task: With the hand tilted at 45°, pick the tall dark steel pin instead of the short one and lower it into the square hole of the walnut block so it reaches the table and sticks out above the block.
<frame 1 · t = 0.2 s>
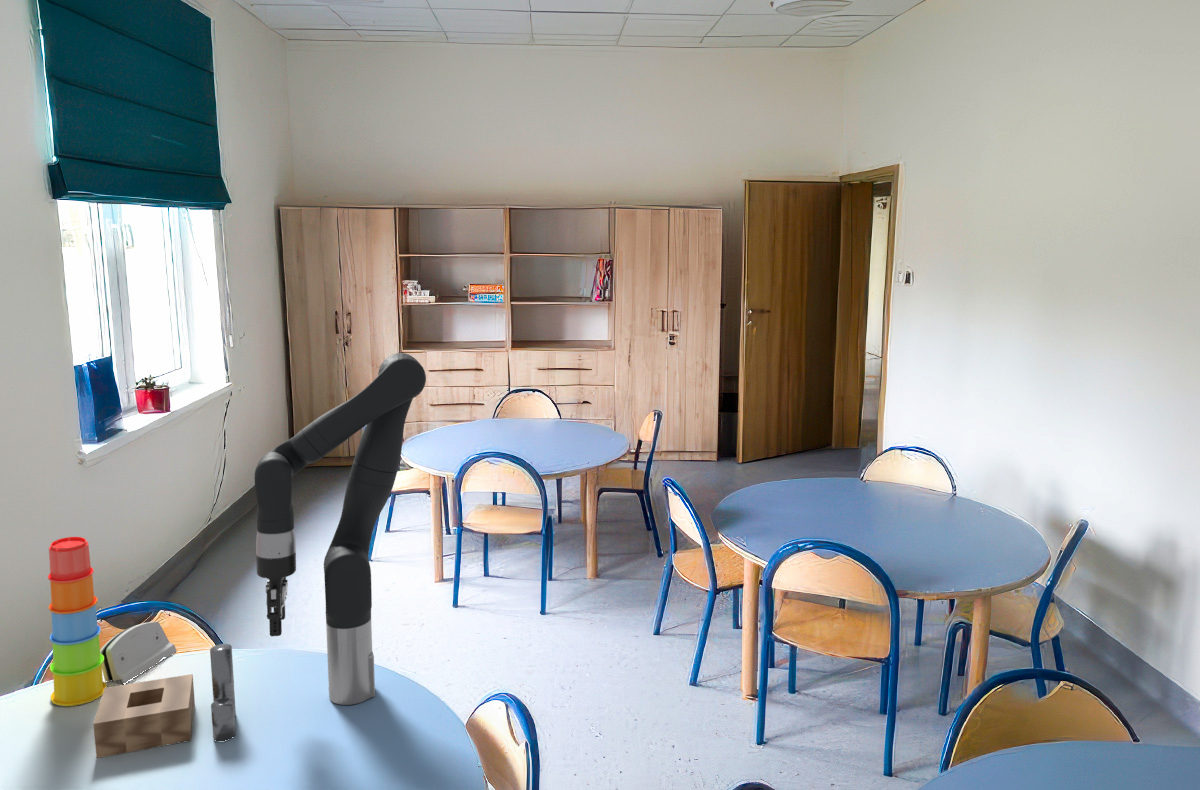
hand: (277, 627, 175), 18 cm above the table, tool pointing down, fingers open, 8 cm apart
bore block: (148, 730, 169), on the table
short pin: (224, 736, 167), on the table
grey curved housing: (137, 666, 194), on the table
stacking cups: (79, 695, 181), on the table
long pin: (225, 716, 174), on the table
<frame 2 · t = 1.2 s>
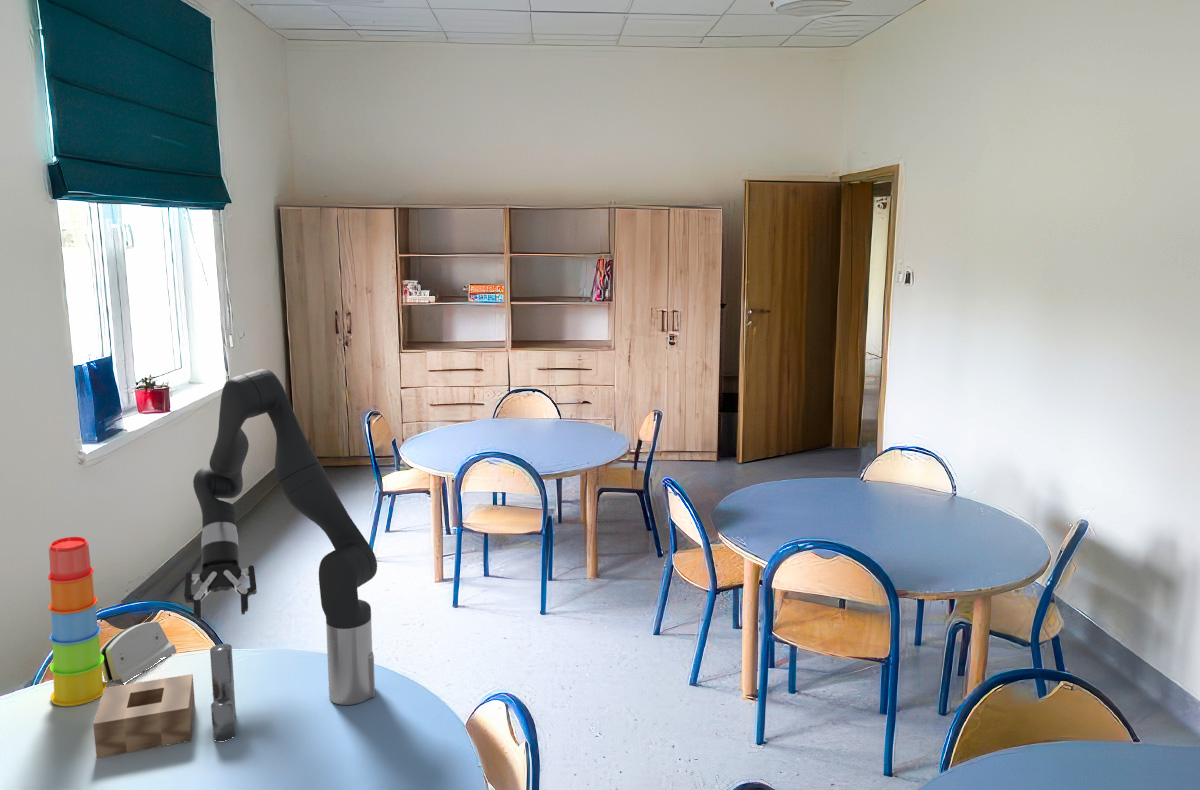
hand: (221, 616, 181), 17 cm above the table, tool tilted 45°, fingers open, 8 cm apart
nothing on the table moved.
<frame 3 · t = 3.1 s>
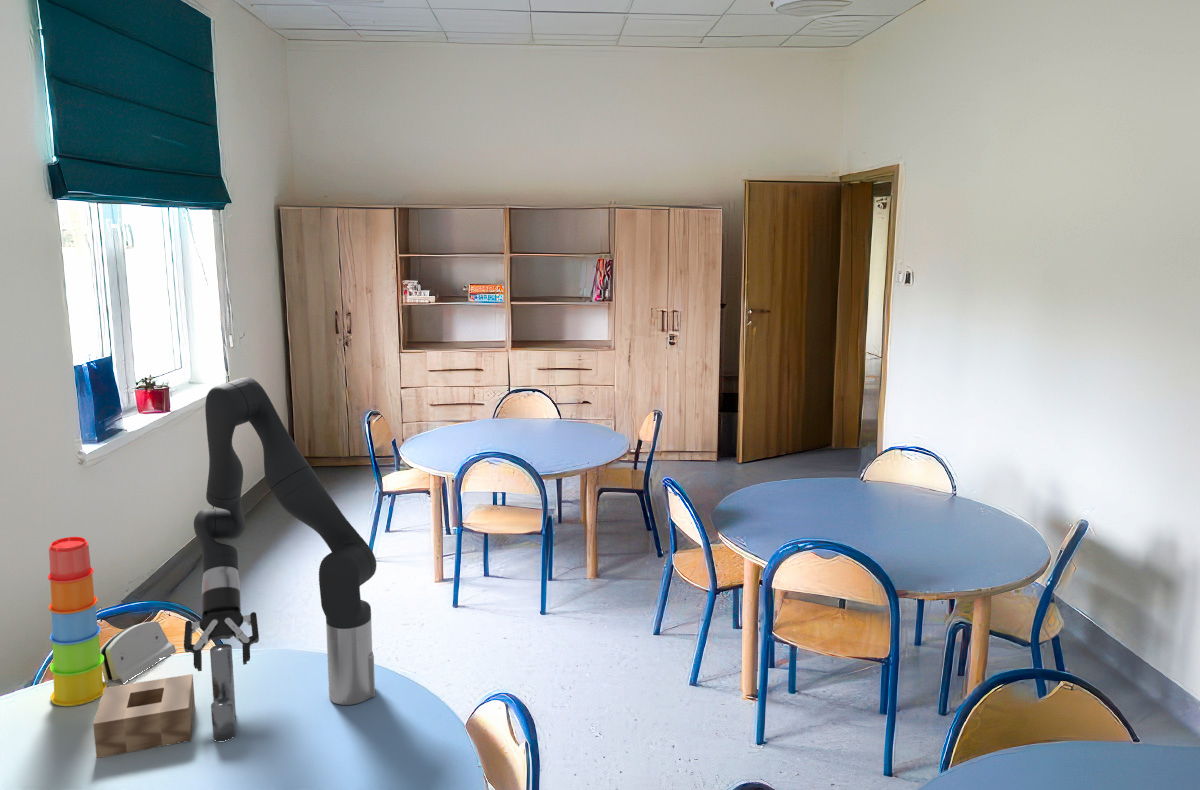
hand: (222, 666, 174), 10 cm above the table, tool tilted 45°, fingers open, 8 cm apart
nothing on the table moved.
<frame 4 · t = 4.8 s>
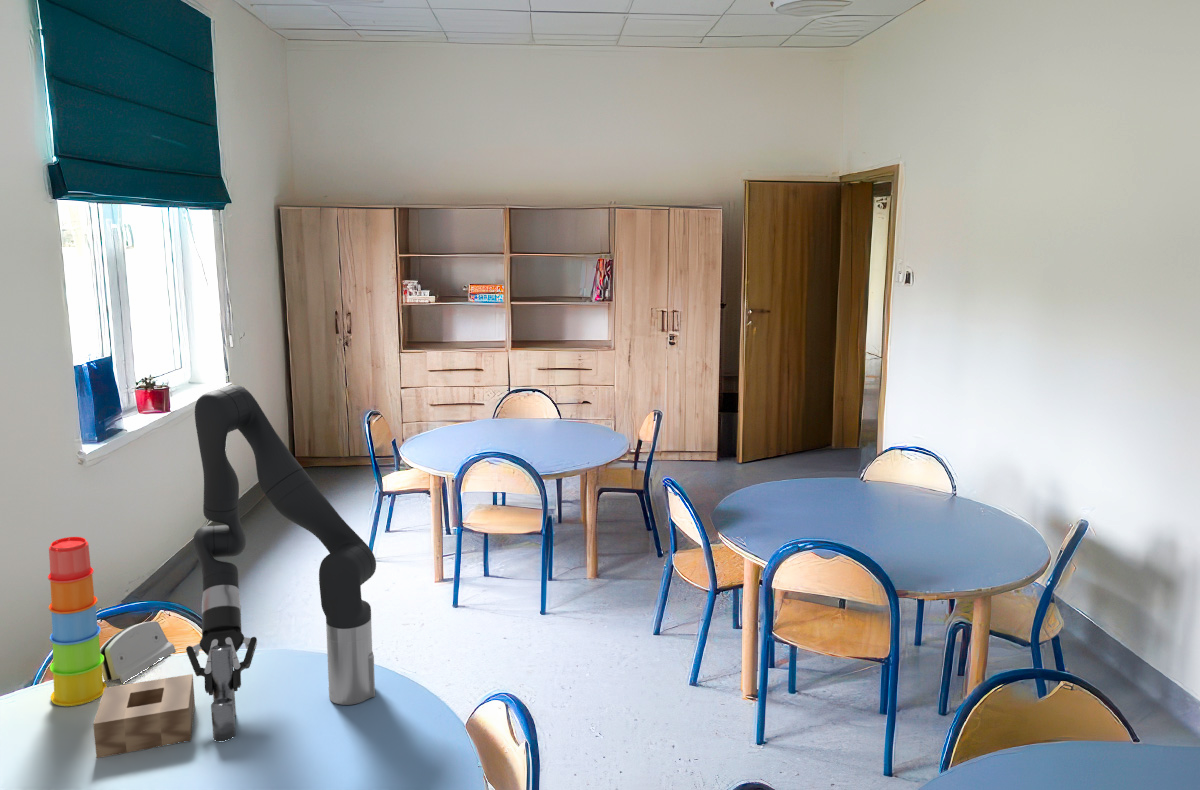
hand: (223, 691, 171), 7 cm above the table, tool tilted 45°, fingers closed on long pin, 4 cm apart
long pin: (225, 716, 174), on the table, touching gripper
everything else where it was.
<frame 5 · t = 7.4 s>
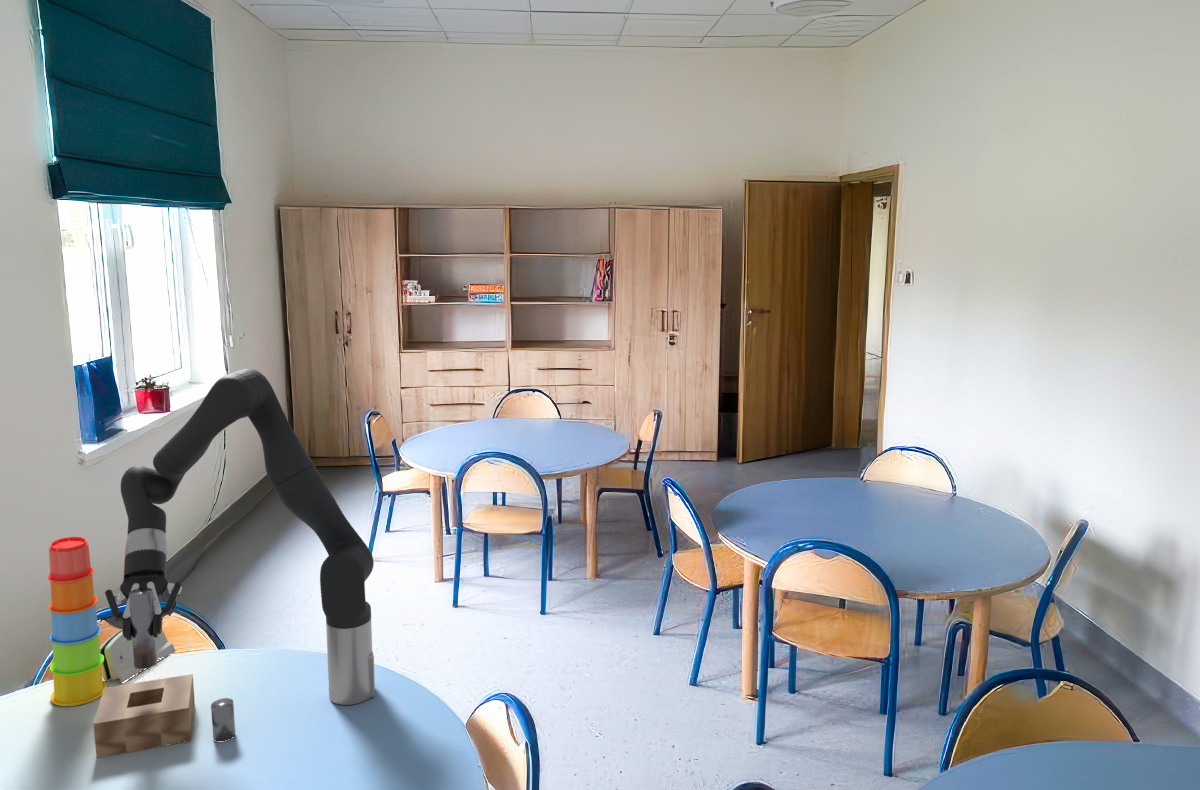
hand: (142, 637, 164), 20 cm above the table, tool tilted 45°, fingers closed on long pin, 4 cm apart
long pin: (145, 663, 167), point 14 cm above the table, touching gripper
everything else where it was.
when the fingers open (10 cm above the table, at t = 9.9 s): long pin drops 3 cm, resting in bore block.
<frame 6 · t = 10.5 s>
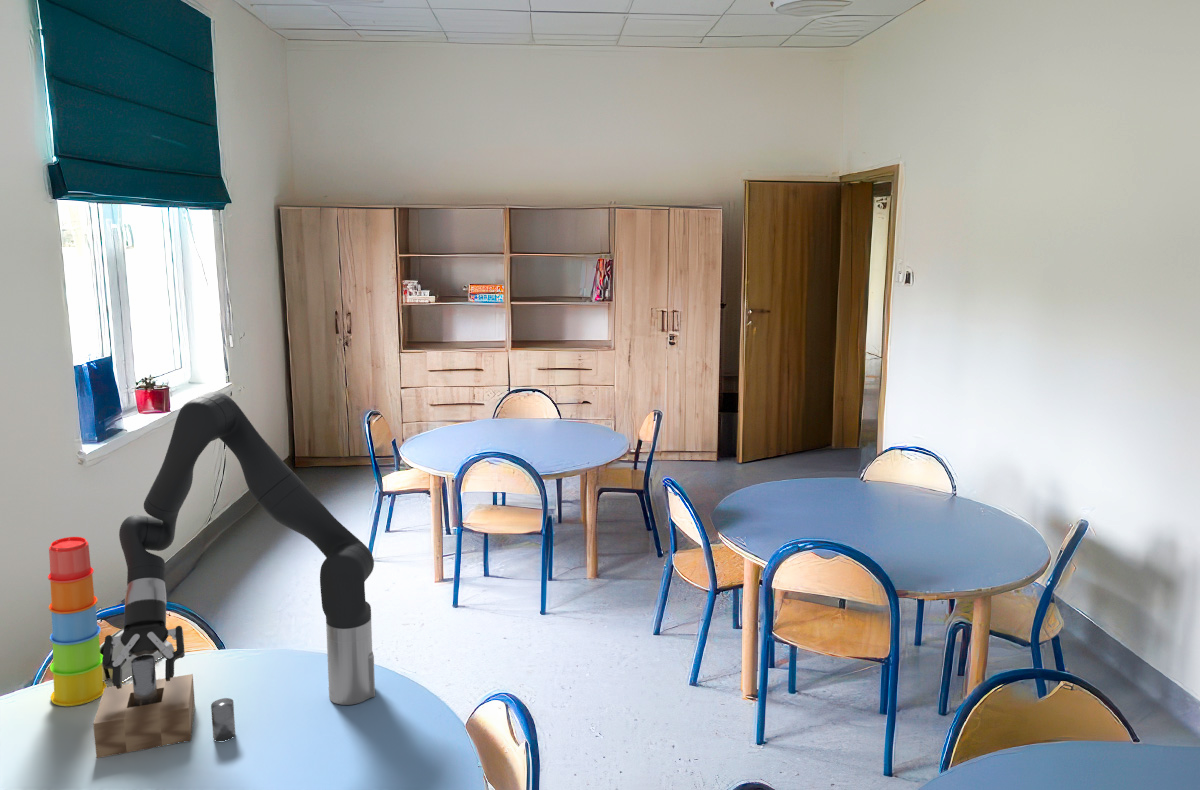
hand: (143, 683, 166), 11 cm above the table, tool tilted 45°, fingers open, 8 cm apart
long pin: (148, 729, 169), resting in bore block
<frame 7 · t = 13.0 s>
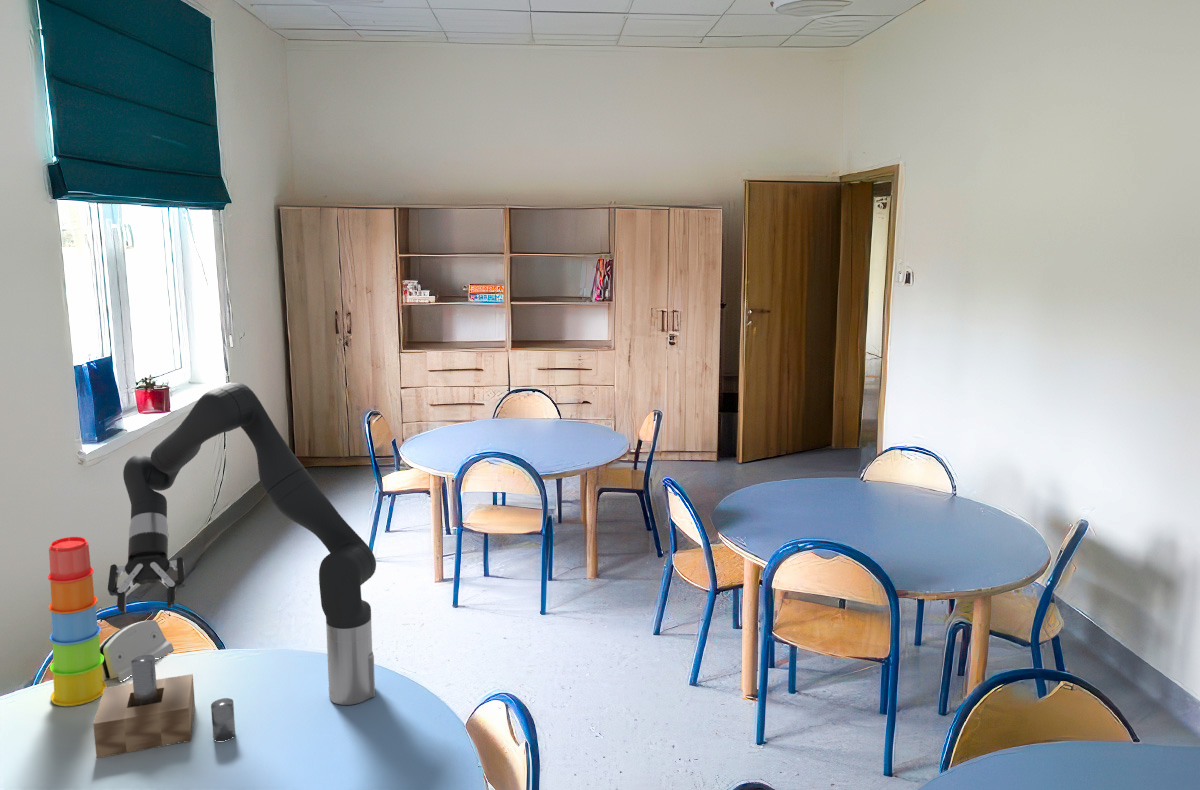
hand: (146, 609, 176), 21 cm above the table, tool tilted 45°, fingers open, 8 cm apart
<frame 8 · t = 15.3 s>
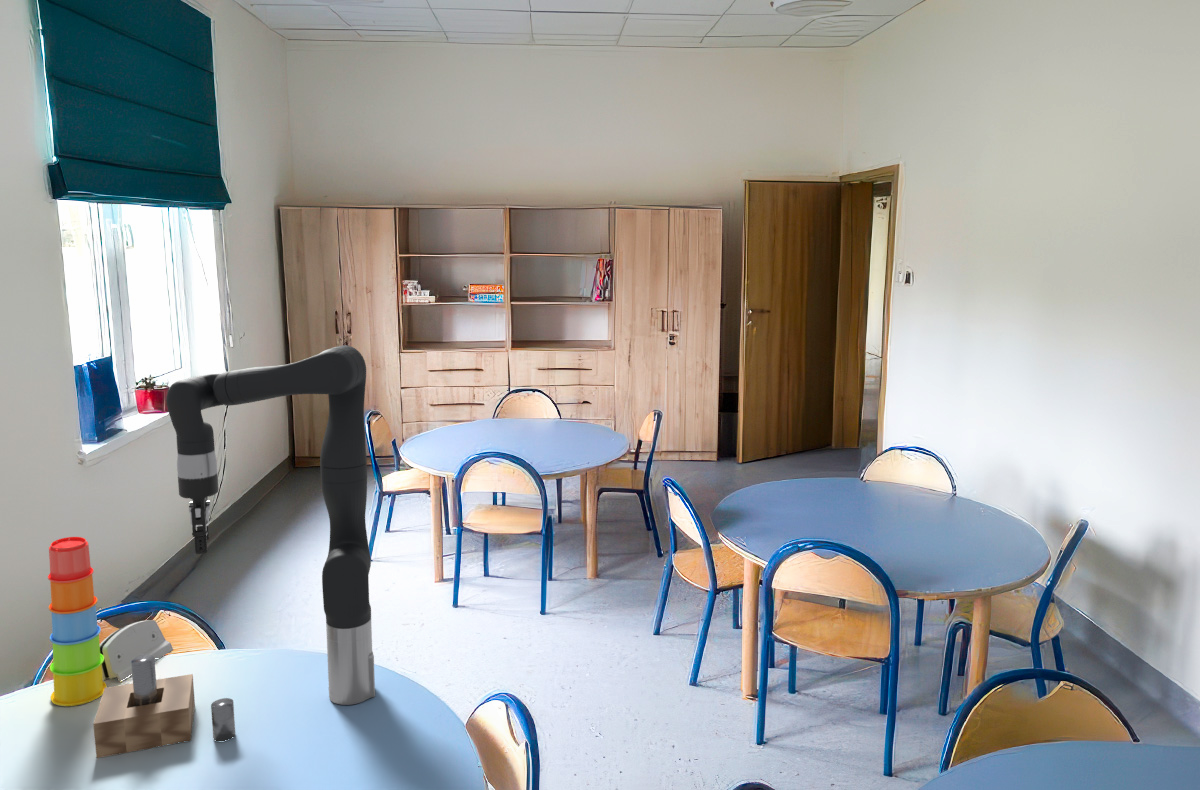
hand: (202, 546, 180), 32 cm above the table, tool pointing down, fingers open, 8 cm apart
at the end: long pin 0.1 cm off-centre on the bore block, point 0.0 cm above the bore block's base; long pin tilted 0°; short pin moved 0.0 cm from its start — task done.
